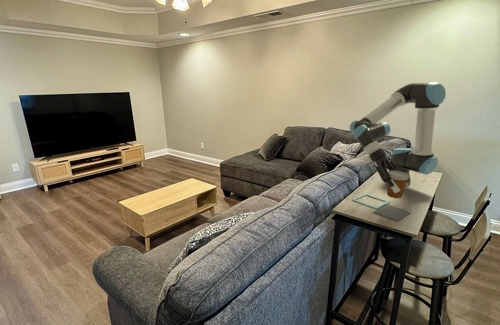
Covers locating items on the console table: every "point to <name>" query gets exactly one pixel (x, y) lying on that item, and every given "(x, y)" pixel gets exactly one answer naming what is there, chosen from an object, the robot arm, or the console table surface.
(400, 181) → the disposable coffee cup
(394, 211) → the charcoal mat
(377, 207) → the teal frame
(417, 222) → the console table surface
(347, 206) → the console table surface
